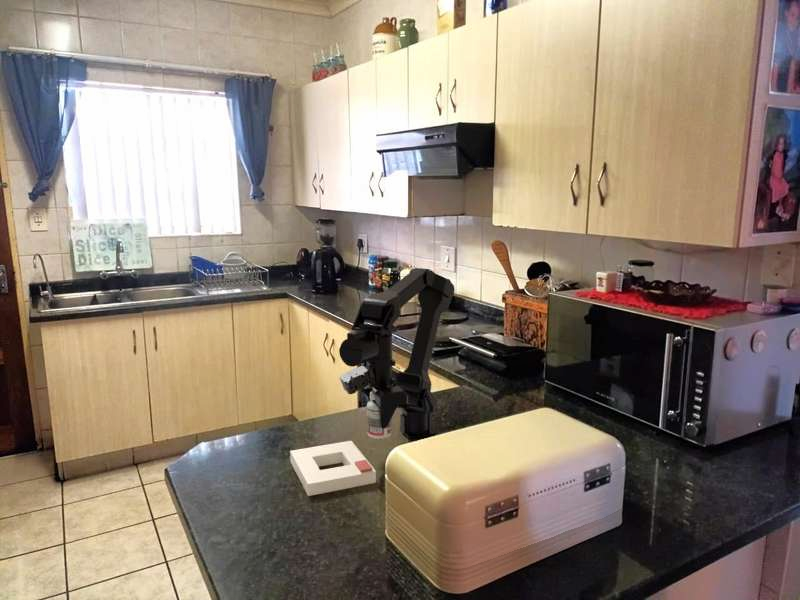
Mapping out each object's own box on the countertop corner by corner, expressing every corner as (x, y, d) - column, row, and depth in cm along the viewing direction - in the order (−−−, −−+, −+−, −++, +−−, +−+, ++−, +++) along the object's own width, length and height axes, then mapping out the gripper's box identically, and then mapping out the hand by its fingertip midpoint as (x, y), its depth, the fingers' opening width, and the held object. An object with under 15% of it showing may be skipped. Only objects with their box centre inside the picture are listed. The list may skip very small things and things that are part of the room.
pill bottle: (381, 427, 133) (381, 386, 131) (396, 435, 129) (396, 392, 127) (362, 433, 129) (361, 391, 128) (376, 441, 125) (376, 398, 123)
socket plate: (351, 450, 133) (351, 438, 132) (375, 482, 118) (375, 468, 118) (290, 461, 127) (290, 448, 127) (308, 496, 113) (307, 481, 112)
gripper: (330, 348, 131) (332, 413, 134) (357, 371, 114) (358, 446, 117) (377, 343, 135) (377, 407, 138) (409, 365, 118) (409, 437, 121)
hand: (379, 423), depth 128 cm, fingers closed on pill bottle, 5 cm apart
